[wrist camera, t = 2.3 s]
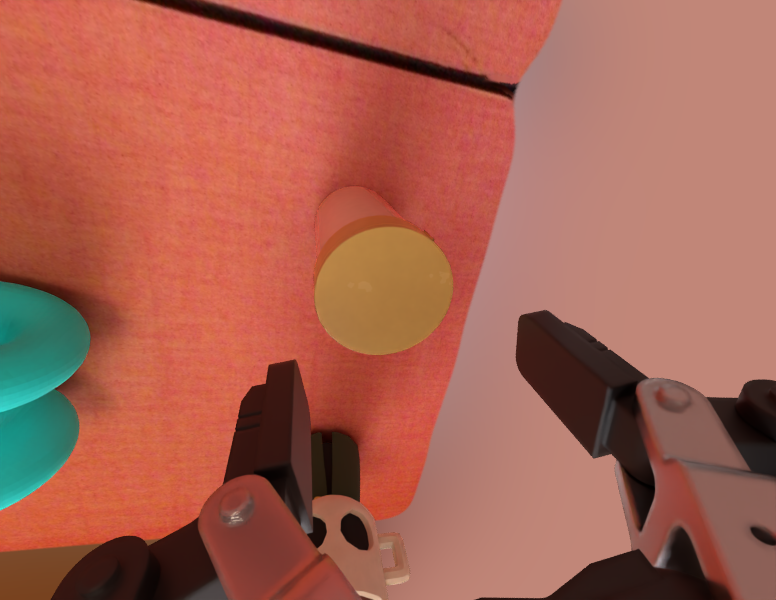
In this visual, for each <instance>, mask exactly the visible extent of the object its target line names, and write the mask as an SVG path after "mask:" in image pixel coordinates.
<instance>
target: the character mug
mask: <svg viewBox="0 0 776 600" xmlns="http://www.w3.org/2000/svg"><path fill="white" fill-rule="evenodd" d="M311 465H312V509H313V532H312V533H308V534H307V536H308V537H309V538H310V540H311V541H312V543H313V544H314V545H315V547H316V548H317V549H318V551H319V552H320V553H321V554H324V553H326V554H328V555H329V556H330V557H331V558H332V559H333V561H334V562H335V563H336V564H337V566H338V567H339V568H340V570H341V571H342V572H343V574H344V575H345V577H346V578H347V579H348V581H349V582H350V583H351V585H352V586H353V587H354V589H355V590H356V592H357V593H358V594H359V596H360V597H361V598H362V600H388V594H387V589H386V585H392V584H399V583H403V582H405V581H407V580H409V579H410V568H409V564H408V559H407V555H406V551H405V546H404V542H403V539H402V538H401V536H400V534H399V533H395V532H392V533H384V534H377V529H376V525H375V519H374V518H373V516H372V515H371V513H370V512H369V510H368V509H367V508H366V507H365V506H364V505H363V504H362V503H360V460H359V453H358V447H357V444H356V443H355V442H354V441H353V440H352V439H351V438H350V437H349V436H347V435H344V434H341V433H338V432H332V443H323V444H322V433H315V434H313V435H311ZM387 548H392V551H393V557H394V561H395V567H391V568H384V569H383V566H382V559H381V552H380V549H387Z"/></svg>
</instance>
